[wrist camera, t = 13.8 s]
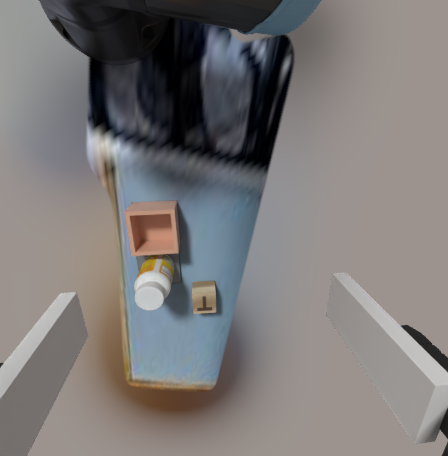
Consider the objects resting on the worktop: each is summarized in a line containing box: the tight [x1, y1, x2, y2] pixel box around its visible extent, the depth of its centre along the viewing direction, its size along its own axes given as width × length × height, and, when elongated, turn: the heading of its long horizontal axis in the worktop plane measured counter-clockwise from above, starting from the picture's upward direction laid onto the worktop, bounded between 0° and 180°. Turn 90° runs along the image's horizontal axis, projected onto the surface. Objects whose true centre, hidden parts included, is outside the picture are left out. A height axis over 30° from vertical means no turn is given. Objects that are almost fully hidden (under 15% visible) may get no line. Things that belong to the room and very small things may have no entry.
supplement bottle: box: [134, 254, 174, 310], centre depth 42 cm, size 5×5×10 cm
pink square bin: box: [125, 200, 180, 256], centre depth 42 cm, size 7×7×5 cm
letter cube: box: [192, 281, 216, 314], centre depth 48 cm, size 4×4×4 cm
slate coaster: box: [137, 253, 181, 283], centre depth 47 cm, size 7×7×1 cm
